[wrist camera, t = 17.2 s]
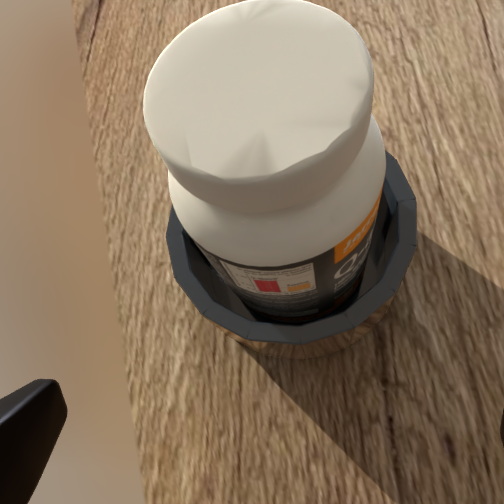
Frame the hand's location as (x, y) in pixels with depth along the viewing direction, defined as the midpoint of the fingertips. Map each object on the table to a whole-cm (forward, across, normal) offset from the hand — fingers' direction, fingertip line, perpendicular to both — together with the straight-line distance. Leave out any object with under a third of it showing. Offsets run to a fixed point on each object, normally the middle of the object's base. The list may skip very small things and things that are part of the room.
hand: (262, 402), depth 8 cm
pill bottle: (+10, 0, +1) cm, 10 cm away
